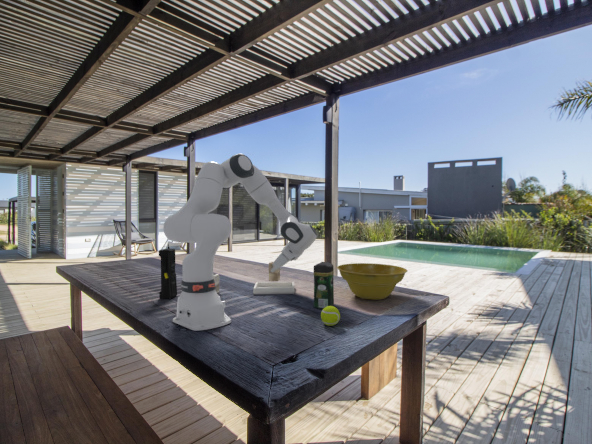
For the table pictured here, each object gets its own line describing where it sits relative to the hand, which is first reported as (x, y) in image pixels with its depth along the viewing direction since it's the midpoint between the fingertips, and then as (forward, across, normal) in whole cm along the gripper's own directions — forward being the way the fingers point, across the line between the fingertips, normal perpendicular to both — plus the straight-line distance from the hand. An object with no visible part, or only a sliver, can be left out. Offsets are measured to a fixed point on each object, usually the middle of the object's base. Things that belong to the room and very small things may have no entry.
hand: (273, 270), depth 160 cm
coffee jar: (-13, +23, +28) cm, 38 cm away
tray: (+7, 0, +8) cm, 10 cm away
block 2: (+3, 0, +4) cm, 5 cm away
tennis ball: (-17, +45, +31) cm, 57 cm away
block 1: (+27, +10, -13) cm, 32 cm away
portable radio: (+39, +23, -24) cm, 51 cm away
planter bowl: (-27, +2, +42) cm, 50 cm away
